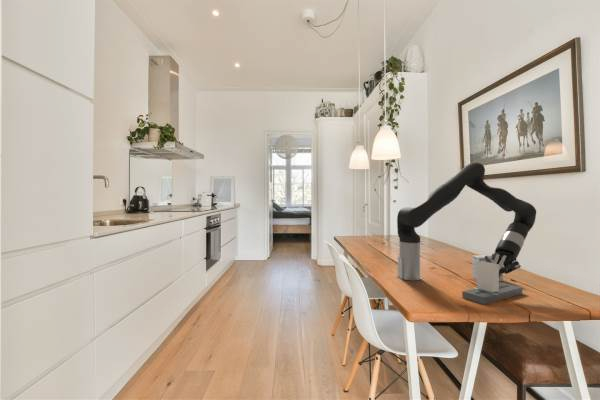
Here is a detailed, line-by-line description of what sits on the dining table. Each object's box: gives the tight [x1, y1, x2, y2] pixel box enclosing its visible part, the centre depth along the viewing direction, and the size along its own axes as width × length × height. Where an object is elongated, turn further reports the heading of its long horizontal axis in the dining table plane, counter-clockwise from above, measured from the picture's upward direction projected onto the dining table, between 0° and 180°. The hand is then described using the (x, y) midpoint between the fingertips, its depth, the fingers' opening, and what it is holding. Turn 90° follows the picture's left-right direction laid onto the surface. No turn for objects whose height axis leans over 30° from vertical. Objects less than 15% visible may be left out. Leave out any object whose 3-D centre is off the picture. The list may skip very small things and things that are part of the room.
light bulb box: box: [472, 254, 504, 282], centre depth 138 cm, size 11×7×11 cm, turn 84°
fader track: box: [461, 281, 523, 305], centre depth 115 cm, size 26×9×3 cm, turn 118°
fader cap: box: [475, 261, 500, 292], centre depth 113 cm, size 4×6×10 cm, turn 28°
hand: (492, 279), depth 114 cm, fingers closed
